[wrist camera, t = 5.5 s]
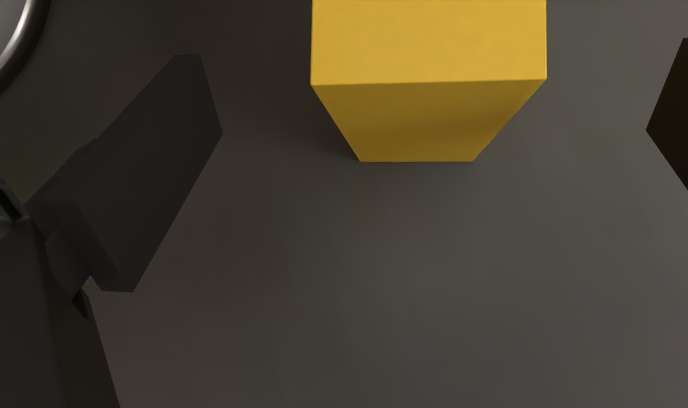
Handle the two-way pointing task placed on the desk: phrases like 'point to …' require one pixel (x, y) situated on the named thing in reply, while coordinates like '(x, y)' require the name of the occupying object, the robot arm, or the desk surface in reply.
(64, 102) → the desk surface
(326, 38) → the package
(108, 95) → the desk surface
